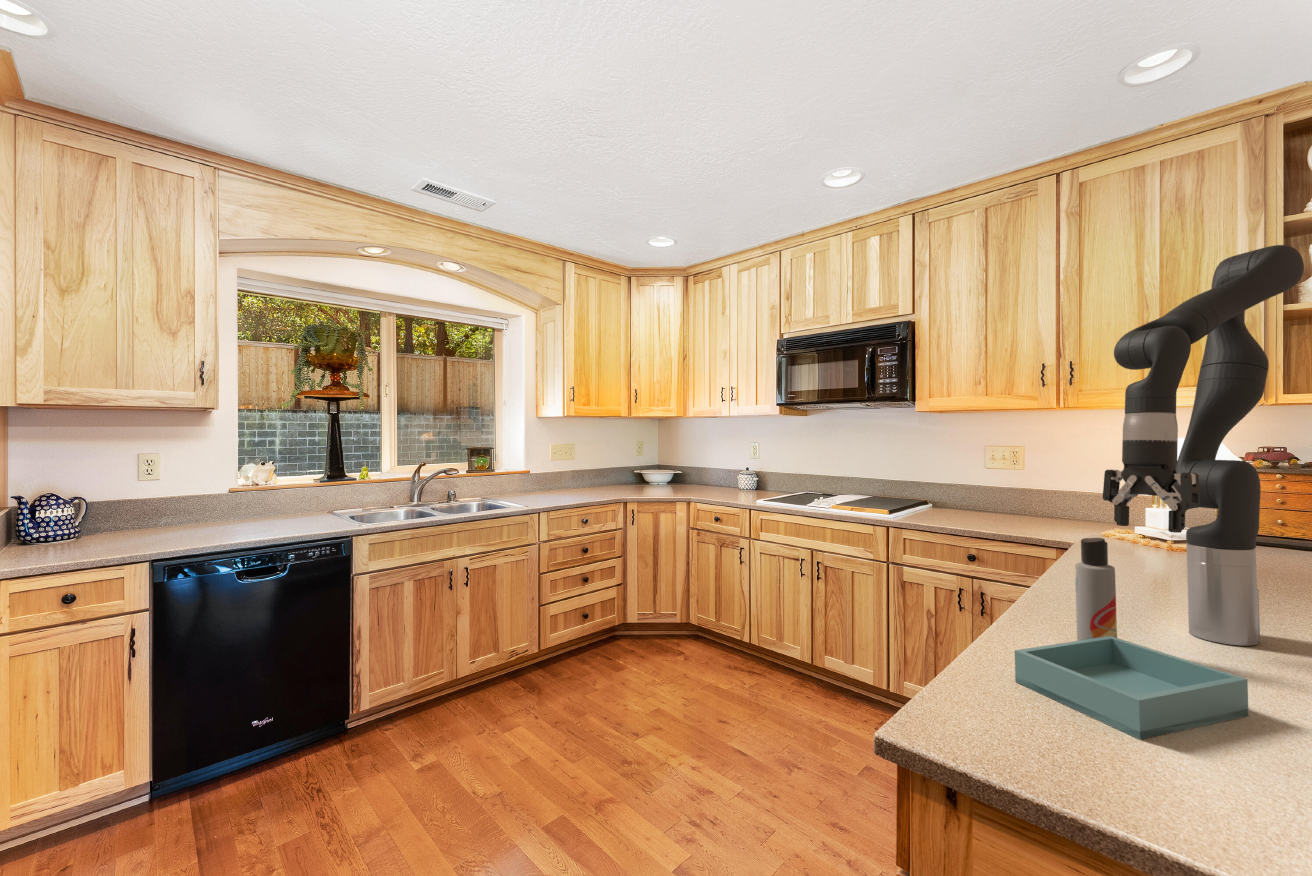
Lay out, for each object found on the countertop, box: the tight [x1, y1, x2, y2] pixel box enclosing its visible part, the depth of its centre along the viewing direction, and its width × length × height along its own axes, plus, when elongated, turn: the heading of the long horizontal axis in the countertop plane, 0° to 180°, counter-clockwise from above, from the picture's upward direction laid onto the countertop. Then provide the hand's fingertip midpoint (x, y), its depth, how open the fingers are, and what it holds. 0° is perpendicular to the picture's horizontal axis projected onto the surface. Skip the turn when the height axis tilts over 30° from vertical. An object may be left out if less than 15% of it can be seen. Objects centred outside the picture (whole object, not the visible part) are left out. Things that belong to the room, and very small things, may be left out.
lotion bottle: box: [1074, 537, 1118, 641], centre depth 101 cm, size 6×6×20 cm
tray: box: [1014, 636, 1249, 741], centre depth 83 cm, size 20×18×5 cm
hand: (1147, 528), depth 102 cm, fingers open, 8 cm apart
